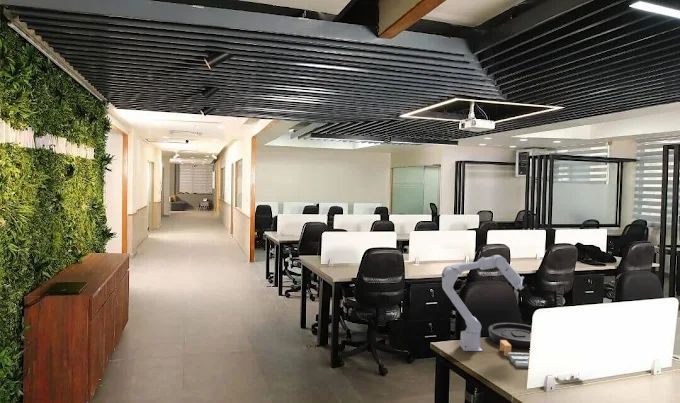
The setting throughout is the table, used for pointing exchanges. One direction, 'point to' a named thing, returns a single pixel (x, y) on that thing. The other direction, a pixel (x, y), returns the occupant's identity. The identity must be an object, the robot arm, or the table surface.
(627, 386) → the table surface
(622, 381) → the table surface
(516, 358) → the slotted rail
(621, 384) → the table surface
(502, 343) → the orange notched block
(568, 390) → the table surface
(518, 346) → the grey bolted disc
